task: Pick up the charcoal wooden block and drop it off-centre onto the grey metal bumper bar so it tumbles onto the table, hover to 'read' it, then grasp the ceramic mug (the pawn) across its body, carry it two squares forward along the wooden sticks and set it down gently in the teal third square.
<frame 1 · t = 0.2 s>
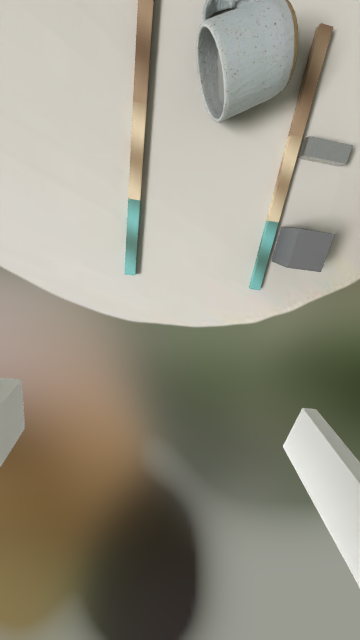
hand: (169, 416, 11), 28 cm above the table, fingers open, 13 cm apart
wooden sticks: (212, 169, 31), on the table
ceramic mug: (228, 68, 28), on the table
block: (291, 246, 36), on the table
bumper bar: (320, 153, 32), on the table
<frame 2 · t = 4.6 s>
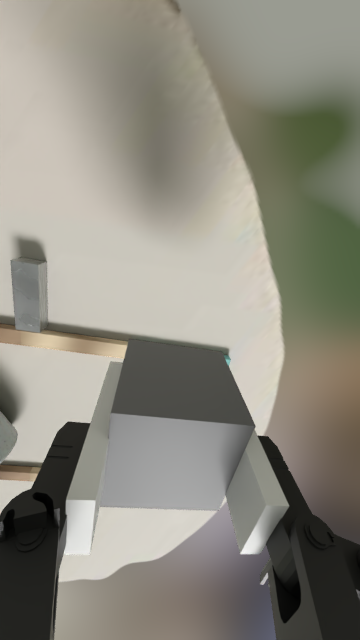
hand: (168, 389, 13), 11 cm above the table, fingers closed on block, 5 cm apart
wooden sticks: (77, 416, 27), on the table
block: (168, 383, 14), point 10 cm above the table, touching gripper
bumper bar: (35, 293, 21), on the table
when the fingers open (7 cm above the table, at t = 6.4 s): block drops 4 cm and tips over, point 2 cm above the table.
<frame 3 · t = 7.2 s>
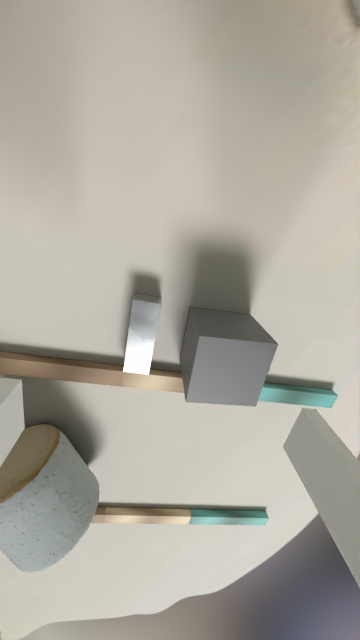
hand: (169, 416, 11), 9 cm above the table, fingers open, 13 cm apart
wooden sticks: (162, 455, 25), on the table
ceramic mug: (44, 452, 24), on the table
block: (187, 350, 17), point 2 cm above the table, tilted 90°
bumper bar: (142, 330, 19), on the table
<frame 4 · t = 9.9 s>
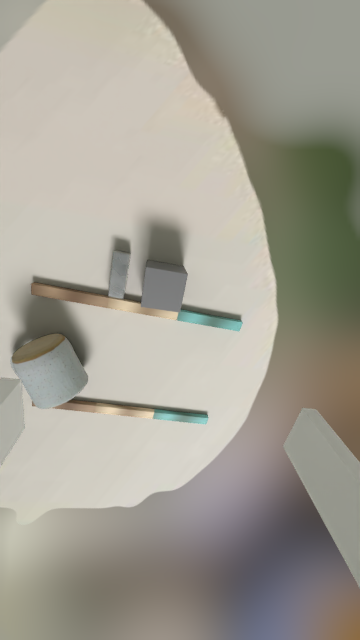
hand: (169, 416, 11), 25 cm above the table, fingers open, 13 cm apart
wooden sticks: (133, 363, 39), on the table
ceramic mug: (54, 357, 37), on the table
block: (144, 282, 31), point 2 cm above the table, tilted 90°
bumper bar: (120, 273, 33), on the table
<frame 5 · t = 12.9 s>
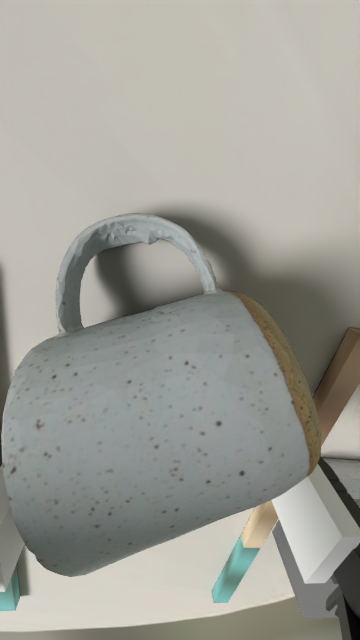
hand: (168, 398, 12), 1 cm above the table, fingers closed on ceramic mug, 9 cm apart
wooden sticks: (143, 495, 17), on the table
ceramic mug: (154, 331, 12), on the table, touching gripper
block: (341, 533, 17), point 2 cm above the table, tilted 90°
bumper bar: (338, 468, 18), on the table
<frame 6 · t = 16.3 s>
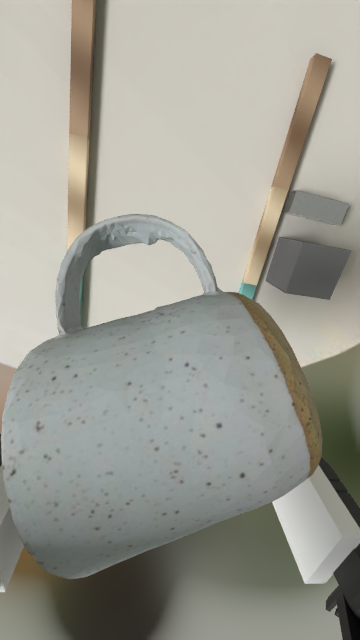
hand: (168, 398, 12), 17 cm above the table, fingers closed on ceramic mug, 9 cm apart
wooden sticks: (176, 220, 25), on the table
ceramic mug: (154, 331, 12), point 16 cm above the table, touching gripper
block: (312, 243, 25), point 2 cm above the table, tilted 90°
bumper bar: (310, 208, 26), on the table
when the fingers open (2 cm above the table, at t = 19.6 s): ceramic mug stays where it is, on the table.
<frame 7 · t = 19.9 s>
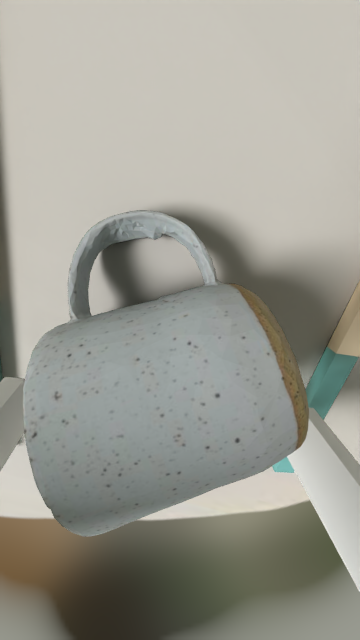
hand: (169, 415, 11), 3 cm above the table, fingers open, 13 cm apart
wooden sticks: (200, 225, 11), on the table
ceramic mug: (157, 322, 13), on the table
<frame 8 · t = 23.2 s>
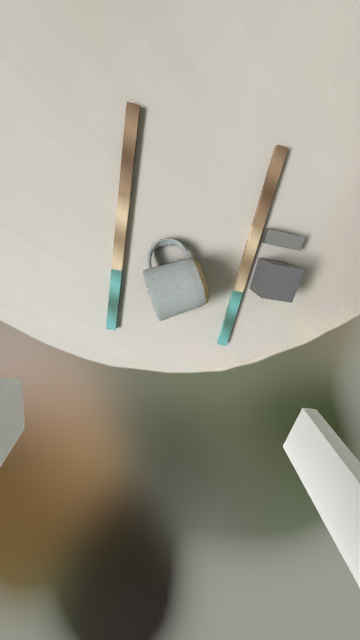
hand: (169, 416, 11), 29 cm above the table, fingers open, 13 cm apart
wooden sticks: (186, 247, 36), on the table
ceramic mug: (170, 274, 38), on the table
block: (280, 263, 36), point 2 cm above the table, tilted 90°
bumper bar: (279, 239, 37), on the table
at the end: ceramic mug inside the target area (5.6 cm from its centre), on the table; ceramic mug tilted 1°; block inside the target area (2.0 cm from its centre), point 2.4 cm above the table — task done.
